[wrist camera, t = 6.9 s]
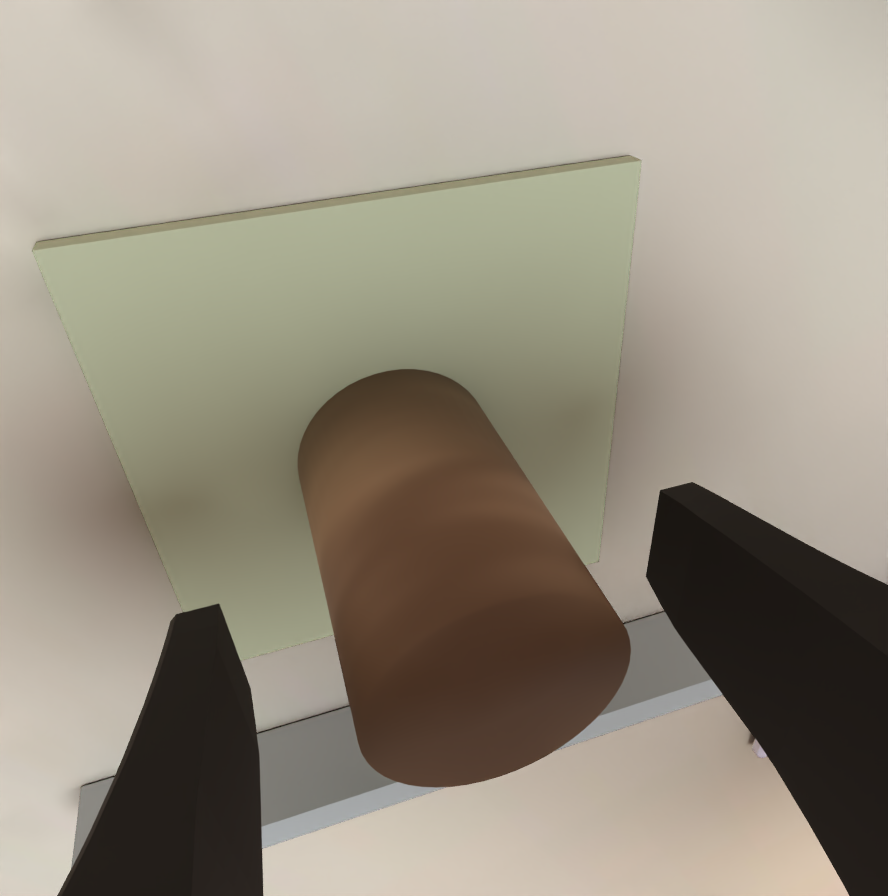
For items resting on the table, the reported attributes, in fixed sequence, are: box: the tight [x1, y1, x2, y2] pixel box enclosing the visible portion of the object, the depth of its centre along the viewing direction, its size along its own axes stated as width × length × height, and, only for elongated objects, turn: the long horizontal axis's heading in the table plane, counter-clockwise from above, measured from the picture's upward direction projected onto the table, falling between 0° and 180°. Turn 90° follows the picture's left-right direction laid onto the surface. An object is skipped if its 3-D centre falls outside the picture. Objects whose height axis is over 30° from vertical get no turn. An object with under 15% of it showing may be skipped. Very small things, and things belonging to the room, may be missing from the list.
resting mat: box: [32, 156, 642, 661], centre depth 14 cm, size 10×10×1 cm
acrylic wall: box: [71, 612, 723, 869], centre depth 19 cm, size 20×1×2 cm, turn 93°
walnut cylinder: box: [297, 369, 631, 788], centre depth 12 cm, size 4×4×6 cm
